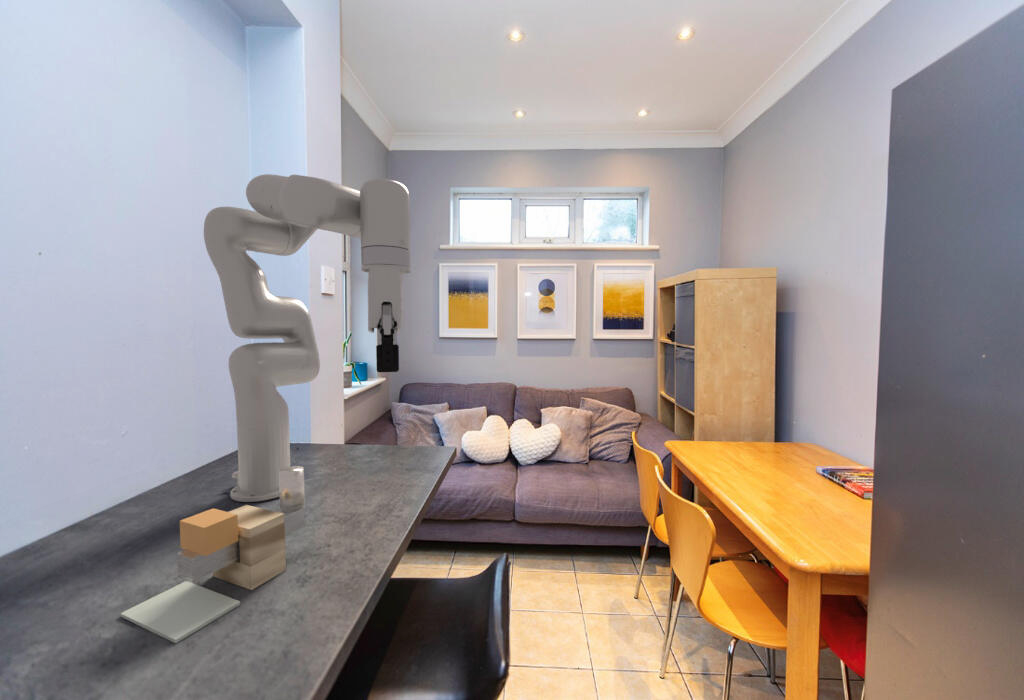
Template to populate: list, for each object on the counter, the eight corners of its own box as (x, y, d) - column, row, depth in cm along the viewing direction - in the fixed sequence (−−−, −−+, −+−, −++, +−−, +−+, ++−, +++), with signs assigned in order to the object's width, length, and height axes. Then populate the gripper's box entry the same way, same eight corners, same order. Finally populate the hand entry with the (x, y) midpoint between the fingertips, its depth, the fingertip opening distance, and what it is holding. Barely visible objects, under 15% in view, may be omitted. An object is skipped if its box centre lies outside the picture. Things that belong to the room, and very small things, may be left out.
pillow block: (213, 576, 58) (210, 518, 57) (248, 558, 62) (246, 504, 62) (251, 590, 55) (249, 529, 54) (285, 569, 59) (284, 513, 59)
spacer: (180, 547, 53) (179, 520, 53) (214, 533, 56) (213, 508, 56) (205, 556, 51) (204, 527, 51) (238, 540, 54) (237, 514, 54)
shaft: (176, 576, 52) (173, 505, 51) (294, 520, 67) (293, 464, 67) (193, 583, 50) (190, 509, 50) (310, 524, 66) (308, 467, 65)
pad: (120, 616, 50) (120, 613, 50) (186, 583, 56) (186, 580, 56) (175, 643, 45) (175, 639, 45) (240, 604, 52) (240, 601, 52)
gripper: (364, 269, 74) (366, 365, 75) (357, 251, 57) (359, 375, 58) (407, 270, 76) (409, 364, 77) (413, 254, 60) (415, 373, 60)
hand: (387, 369), depth 68 cm, fingers open, 9 cm apart
